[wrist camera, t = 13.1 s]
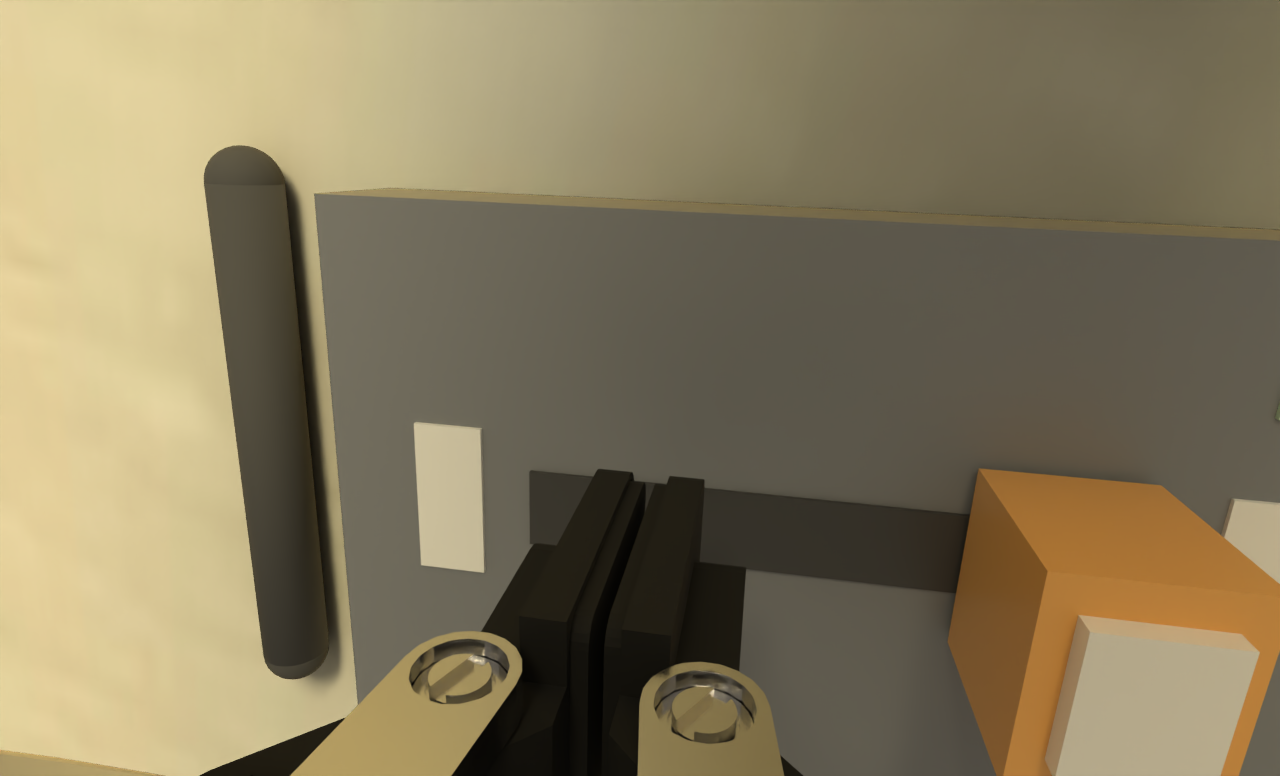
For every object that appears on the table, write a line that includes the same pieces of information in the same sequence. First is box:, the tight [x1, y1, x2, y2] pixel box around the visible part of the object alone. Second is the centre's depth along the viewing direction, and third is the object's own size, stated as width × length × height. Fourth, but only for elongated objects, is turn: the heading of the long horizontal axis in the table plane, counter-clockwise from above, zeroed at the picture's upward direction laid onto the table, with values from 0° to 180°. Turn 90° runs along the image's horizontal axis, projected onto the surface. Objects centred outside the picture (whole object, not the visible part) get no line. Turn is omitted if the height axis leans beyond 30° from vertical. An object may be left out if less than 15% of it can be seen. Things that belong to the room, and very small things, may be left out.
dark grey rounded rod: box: [204, 146, 329, 679], centre depth 19 cm, size 14×2×2 cm, turn 178°
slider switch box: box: [314, 188, 1280, 776], centre depth 16 cm, size 12×20×3 cm, turn 88°
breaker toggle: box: [947, 468, 1280, 776], centre depth 12 cm, size 4×3×4 cm
